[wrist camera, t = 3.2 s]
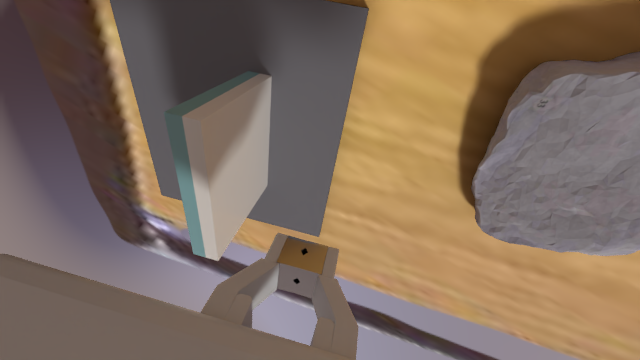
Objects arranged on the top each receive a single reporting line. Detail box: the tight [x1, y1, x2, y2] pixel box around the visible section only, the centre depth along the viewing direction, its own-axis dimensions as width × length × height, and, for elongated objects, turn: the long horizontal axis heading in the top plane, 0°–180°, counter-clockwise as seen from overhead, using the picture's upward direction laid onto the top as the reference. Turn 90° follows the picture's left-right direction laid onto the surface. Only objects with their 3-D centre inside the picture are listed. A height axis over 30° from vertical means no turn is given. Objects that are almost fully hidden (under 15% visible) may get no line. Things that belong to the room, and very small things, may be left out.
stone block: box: [471, 51, 640, 256], centre depth 15 cm, size 12×5×10 cm
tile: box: [164, 71, 272, 261], centre depth 16 cm, size 9×2×8 cm, turn 171°
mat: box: [110, 0, 369, 237], centre depth 20 cm, size 18×16×1 cm
